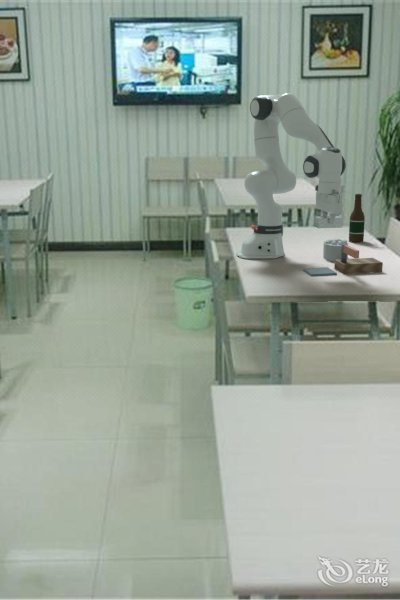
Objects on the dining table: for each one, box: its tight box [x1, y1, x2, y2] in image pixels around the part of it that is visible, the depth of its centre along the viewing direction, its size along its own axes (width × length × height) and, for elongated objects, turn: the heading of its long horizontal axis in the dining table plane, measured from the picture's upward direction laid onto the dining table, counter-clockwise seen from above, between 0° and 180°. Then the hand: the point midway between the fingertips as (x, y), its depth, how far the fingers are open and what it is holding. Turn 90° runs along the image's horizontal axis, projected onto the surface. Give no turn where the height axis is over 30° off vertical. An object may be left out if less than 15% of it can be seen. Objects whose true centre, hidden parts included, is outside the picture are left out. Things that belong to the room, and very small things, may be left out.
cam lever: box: [341, 244, 360, 262], centre depth 280 cm, size 15×2×7 cm, turn 10°
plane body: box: [333, 257, 384, 275], centre depth 288 cm, size 17×10×4 cm, turn 100°
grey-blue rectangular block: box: [313, 215, 343, 229], centre depth 281 cm, size 10×5×4 cm, turn 99°
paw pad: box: [322, 238, 349, 263], centre depth 311 cm, size 10×13×9 cm
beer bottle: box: [348, 193, 365, 244], centre depth 349 cm, size 8×8×24 cm
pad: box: [302, 266, 338, 277], centre depth 286 cm, size 11×11×1 cm
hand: (328, 222), depth 281 cm, fingers closed on grey-blue rectangular block, 5 cm apart
